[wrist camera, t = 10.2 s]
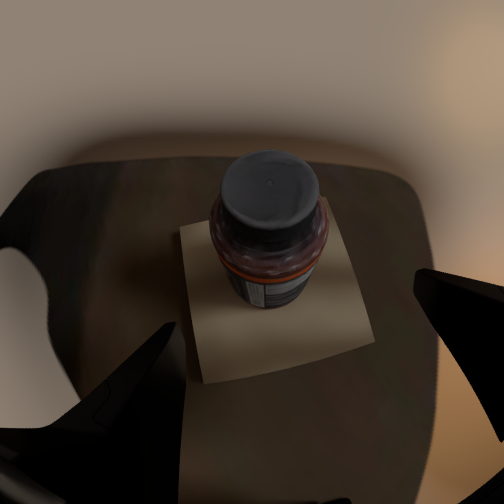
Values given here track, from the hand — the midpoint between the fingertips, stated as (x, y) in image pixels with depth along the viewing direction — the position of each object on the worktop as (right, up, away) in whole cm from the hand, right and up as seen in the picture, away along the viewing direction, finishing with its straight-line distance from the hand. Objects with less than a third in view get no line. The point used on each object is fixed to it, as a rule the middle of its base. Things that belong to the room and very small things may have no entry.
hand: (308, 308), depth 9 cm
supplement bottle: (-1, 0, +12) cm, 12 cm away
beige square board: (0, -1, +13) cm, 13 cm away
